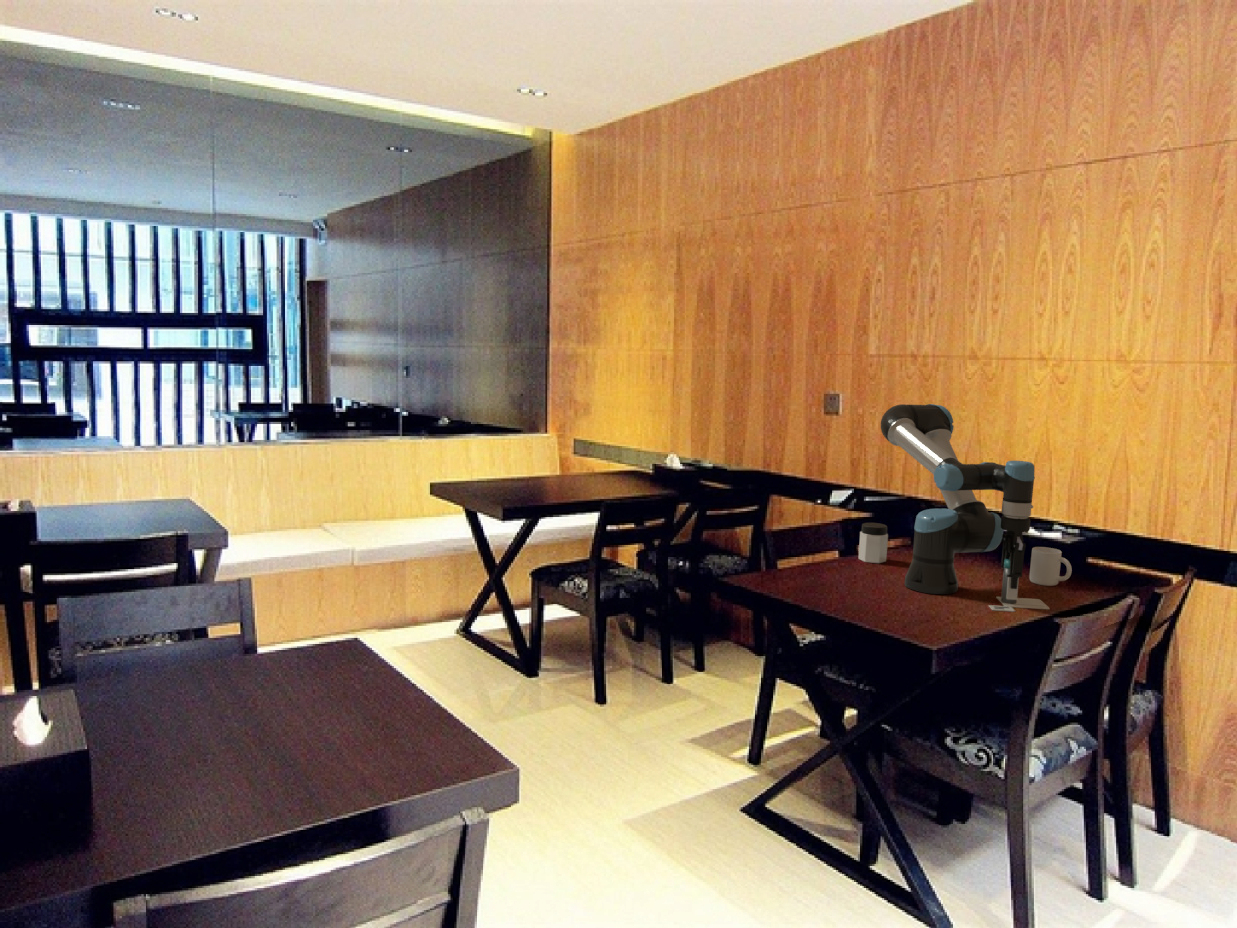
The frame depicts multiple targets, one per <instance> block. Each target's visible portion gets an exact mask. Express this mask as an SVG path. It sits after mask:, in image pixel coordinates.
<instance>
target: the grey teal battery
mask: <svg viewBox="0 0 1237 928" xmlns="http://www.w3.org/2000/svg"><path fill="white" fill-rule="evenodd" d="M1003 572H1004V574H1002V582H1003V585H1002V584H1001V585H1002V586H1001V596H1000V597H1001V601H1002V602H1004V603H1008V604H1015V603H1016V601H1017V600H1011V599H1006V594H1007V583H1008V577H1007V575H1009V574H1010V557H1009V559H1005V560H1004V571H1003Z"/></svg>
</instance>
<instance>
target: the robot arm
mask: <svg viewBox="0 0 1237 928" xmlns="http://www.w3.org/2000/svg"><path fill="white" fill-rule="evenodd" d="M880 430H881V433H882V435H883V437H884V438H885V439H886V440H887V442H889V443H890V444H891V445H893V446H895V447H899V448H901V449H902V450H903V451H905V452H906V453H907V454H908V455H909V456H910V457H912V458H913V459H914V460H915V461H917V462H918V463H919V464H920V465H921V466H922V467H924V469H926V470H927V471H928V472H930V473H931V474H932V475H933V482H934V483H935V486H936V488H937V489H939V490H940V493H941V494H942V497H943V499H944V501H945V504H946V507H947V508H943V507H942V508H936V507H935V508H929V509H928V508H927V509H924V510H922V511H920V512H918V514H917V515H916V516H915V517H916V518H915V522H914V527H913V528H914V533H913V534H914V535H913V549H912V560H911V563H910V565H909V567H908V570H907V572H906V574H905V576H904V577H905V578H904V586H905V588H908V589H910V590H912V591H916V592H918V593H924V594H930V595H931V594H934V595H949V594H950V595H951V594H955V593H957V592H958V591H959V581H958V576H957V573H956V569H955V565H954V564H955V563H954V561H955V554H956V553H957V554H959V553H963V554H964V553H986V552H991V551H994V550H996V549H997V548H998V546H1000V544H1001V542H1002V548H1001V549H1002V550H1001V563H1000V567H1001V569H1002V571H1003V572H1002V573H1003V574H1004V560H1005V559H1009V557H1010V574H1009V575H1007V577H1008V583H1007V594H1006V599H1011V600H1017V598H1018V594H1019V591H1018V590H1019V580H1020V579H1019V578H1022V577H1023V572H1024V571H1023V570H1024V559H1025V551H1026V546H1027V544H1026V543H1025V542H1024V537H1023V533H1027V532H1029V531H1030V529H1031V518H1030V516H1031V515H1032V509H1033V508H1034V505H1033V495H1034V494H1033V493H1034V484H1035V464H1034V463H1032V462H1031V461H1024V460H1008V461H1006V463H1005V465H1004V464H999V463H996V462H993V461H991V462H988V461H983V462H981V463H962V462H960V461H959V459H958V456H957V455H956V452H955V451H954V449H953V446H952V445H951V444H952V443H951V442H950V441H951V439H952V434H953V432H954V418H953V415H952V414H951V412H950V410H949V409H947V408H946V407H945V406H943V405H941V404H933V403H929V404H928V403H927V404H905V403H904V404H897V405H896V404H895V405H894V406H891V407H890V408H888V409H887V410H886V411H885V413H884V414H883V415H882V417H881V419H880ZM984 490H985V491H997V492H1002V493H1003V494H1002V495H1003V496H1002V501H1001V502H1002V503H1001V514H1002V516H1000V515H999V514H998V513H995V512H992V511H991V512H989V511H988V508H987V506H986V505H985V503H984V502H983V501H981V500H977V498H976V496H975V494H974V492H973V491H984ZM1004 531H1006V533H1004ZM1003 574H1002V575H1003ZM1001 585H1003V581H1002V584H1001Z"/></svg>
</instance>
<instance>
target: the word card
mask: <svg viewBox="0 0 1237 928" xmlns="http://www.w3.org/2000/svg"><path fill="white" fill-rule="evenodd" d="M988 607H989V609H991V611H995V612H1012V613H1016V610H1015V609H1014V607H1010V606H1004V605H994V604H993V605H992V604H988Z"/></svg>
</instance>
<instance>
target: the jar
mask: <svg viewBox="0 0 1237 928" xmlns="http://www.w3.org/2000/svg"><path fill="white" fill-rule="evenodd" d="M888 540H889V533H888V526H887V525H886V524H884V523H878V522H864V523H862V524H861V530H860V531H859V543H858V544H859V545H858V560H860V561H862V562H864V563H868V564H869V563H872V564H881V563H885V562H887V554H888Z"/></svg>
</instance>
